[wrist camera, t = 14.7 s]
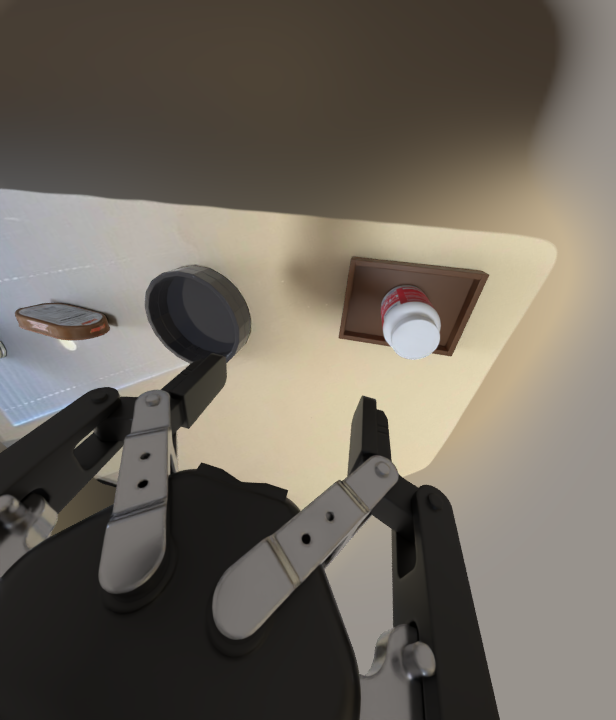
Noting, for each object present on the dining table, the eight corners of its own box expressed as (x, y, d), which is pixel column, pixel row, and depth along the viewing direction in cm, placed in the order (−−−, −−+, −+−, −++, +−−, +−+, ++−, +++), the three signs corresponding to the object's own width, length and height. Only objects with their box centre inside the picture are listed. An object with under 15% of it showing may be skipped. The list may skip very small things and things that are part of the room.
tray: (481, 270, 30) (489, 274, 28) (447, 349, 36) (451, 356, 34) (352, 256, 32) (350, 259, 30) (340, 332, 38) (338, 338, 37)
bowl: (170, 245, 37) (148, 249, 33) (263, 298, 38) (252, 307, 35) (160, 328, 46) (142, 338, 42) (236, 368, 47) (224, 382, 44)
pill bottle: (389, 278, 32) (398, 304, 23) (434, 290, 32) (461, 321, 23) (374, 320, 36) (375, 357, 27) (414, 331, 35) (430, 372, 26)
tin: (57, 311, 50) (6, 327, 43) (51, 296, 48) (-4, 310, 41) (121, 328, 48) (79, 347, 41) (117, 313, 47) (72, 331, 40)
